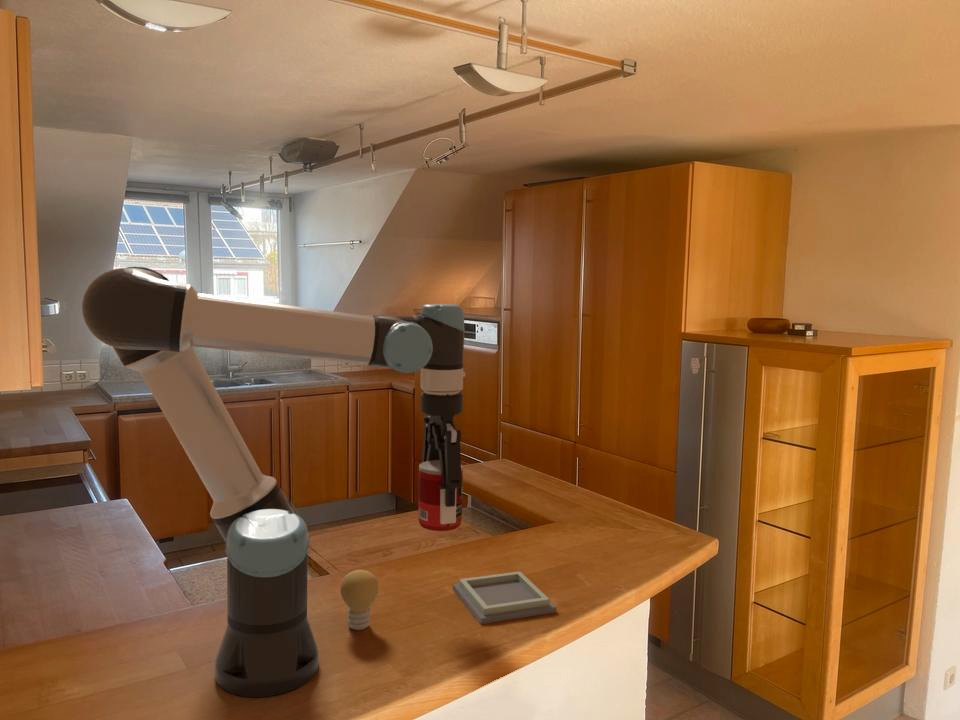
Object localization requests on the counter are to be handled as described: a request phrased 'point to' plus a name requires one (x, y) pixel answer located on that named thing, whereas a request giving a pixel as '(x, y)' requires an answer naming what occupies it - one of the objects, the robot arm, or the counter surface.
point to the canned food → (435, 497)
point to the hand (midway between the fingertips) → (440, 514)
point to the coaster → (502, 597)
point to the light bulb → (359, 597)
